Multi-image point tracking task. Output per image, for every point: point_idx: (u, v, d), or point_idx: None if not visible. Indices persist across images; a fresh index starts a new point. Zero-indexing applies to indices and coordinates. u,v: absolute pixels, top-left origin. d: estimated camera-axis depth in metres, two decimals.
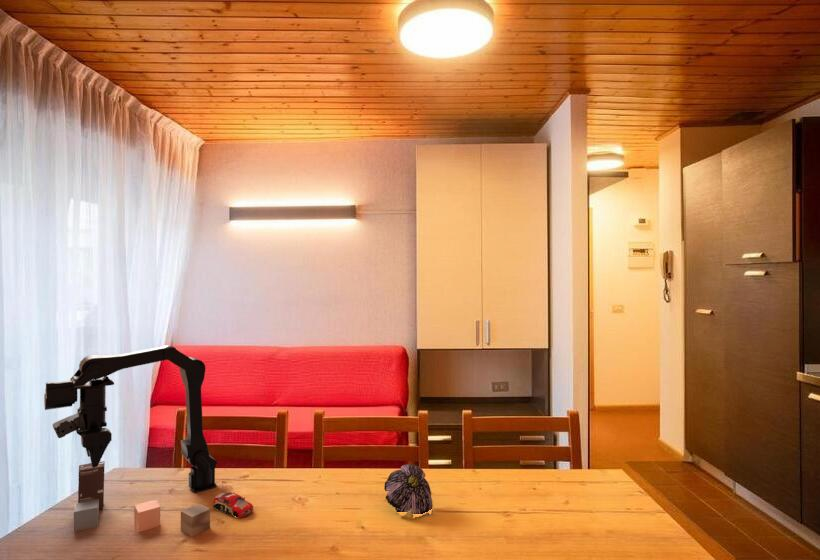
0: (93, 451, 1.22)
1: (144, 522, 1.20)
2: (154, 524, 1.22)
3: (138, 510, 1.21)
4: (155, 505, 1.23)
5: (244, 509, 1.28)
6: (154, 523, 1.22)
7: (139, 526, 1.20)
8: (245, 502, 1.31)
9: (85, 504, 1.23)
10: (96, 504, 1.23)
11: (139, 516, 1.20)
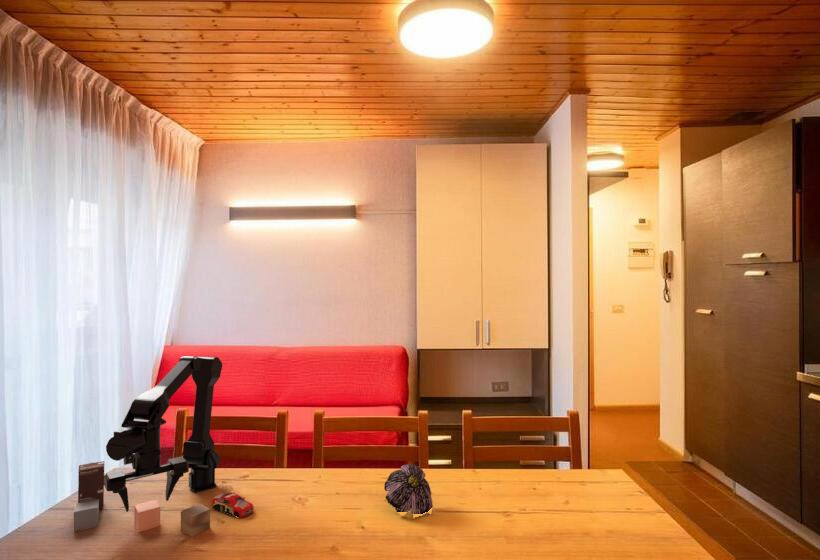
0: None
1: (144, 522, 1.20)
2: (154, 524, 1.22)
3: (138, 510, 1.21)
4: (155, 505, 1.23)
5: (245, 509, 1.28)
6: (154, 523, 1.22)
7: (139, 526, 1.20)
8: (245, 502, 1.31)
9: (85, 504, 1.23)
10: (96, 504, 1.23)
11: (139, 516, 1.20)
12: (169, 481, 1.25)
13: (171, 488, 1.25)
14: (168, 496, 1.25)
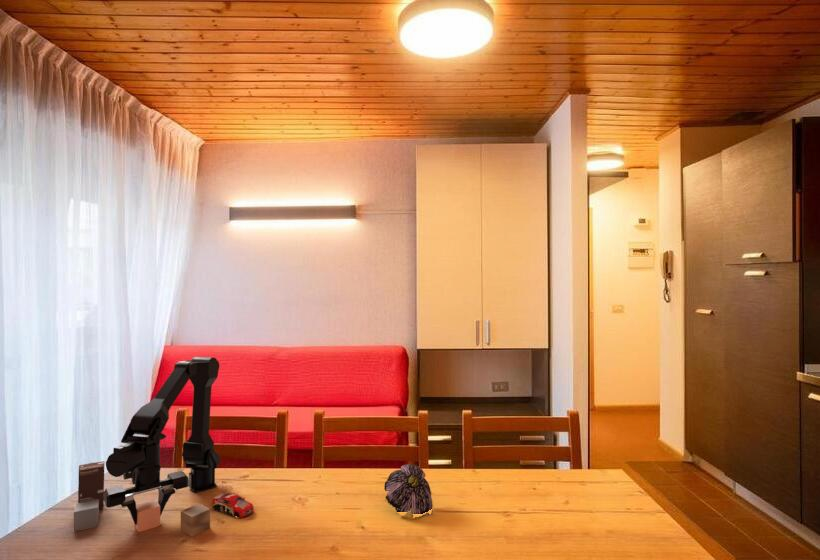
0: None
1: (144, 522, 1.20)
2: (154, 524, 1.22)
3: (138, 510, 1.21)
4: (155, 505, 1.23)
5: (245, 509, 1.28)
6: (154, 523, 1.22)
7: (139, 526, 1.20)
8: (245, 502, 1.31)
9: (85, 504, 1.23)
10: (96, 504, 1.23)
11: (139, 516, 1.20)
12: (161, 498, 1.24)
13: (163, 505, 1.24)
14: (160, 513, 1.24)
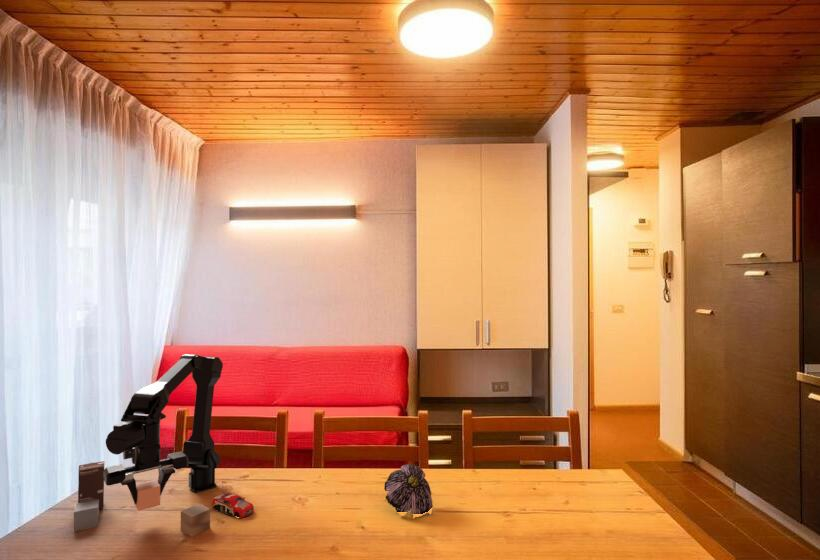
0: None
1: (144, 501, 1.20)
2: (154, 503, 1.22)
3: (138, 489, 1.20)
4: (155, 484, 1.23)
5: (245, 509, 1.27)
6: (154, 502, 1.22)
7: (139, 505, 1.19)
8: (245, 502, 1.30)
9: (85, 504, 1.23)
10: (96, 504, 1.23)
11: (139, 495, 1.19)
12: (161, 478, 1.24)
13: (163, 485, 1.24)
14: (160, 493, 1.24)
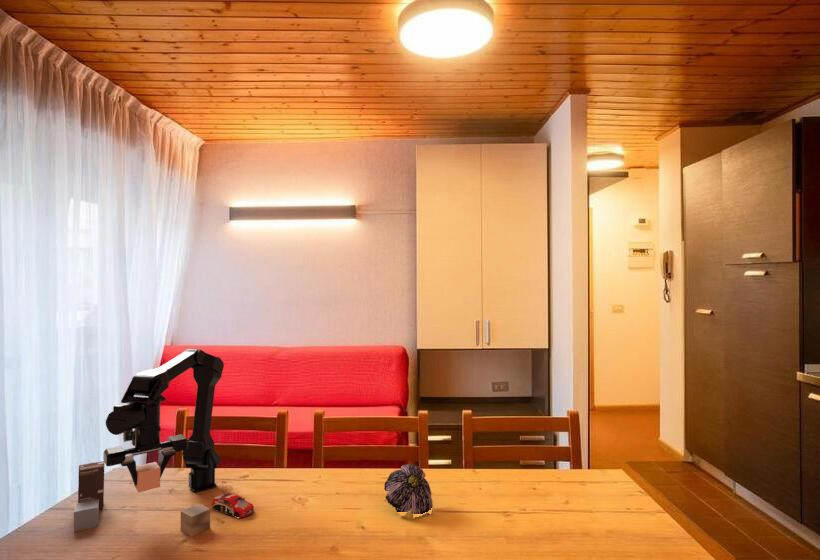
0: None
1: (144, 482, 1.20)
2: (154, 485, 1.22)
3: (138, 470, 1.20)
4: (155, 466, 1.23)
5: (245, 509, 1.27)
6: (154, 484, 1.22)
7: (139, 486, 1.19)
8: (246, 502, 1.30)
9: (85, 504, 1.23)
10: (96, 504, 1.23)
11: (139, 476, 1.19)
12: (161, 460, 1.24)
13: (163, 467, 1.24)
14: (160, 475, 1.24)
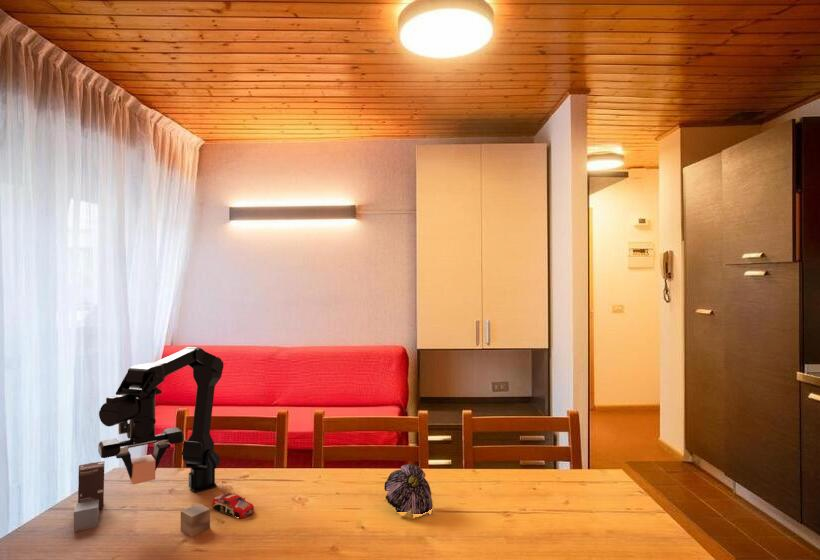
0: None
1: (139, 475, 1.20)
2: (149, 477, 1.22)
3: (133, 463, 1.20)
4: (150, 459, 1.23)
5: (245, 509, 1.27)
6: (149, 476, 1.22)
7: (134, 478, 1.20)
8: (246, 502, 1.30)
9: (85, 504, 1.23)
10: (96, 504, 1.23)
11: (134, 468, 1.20)
12: (156, 452, 1.24)
13: (158, 459, 1.24)
14: (155, 467, 1.24)
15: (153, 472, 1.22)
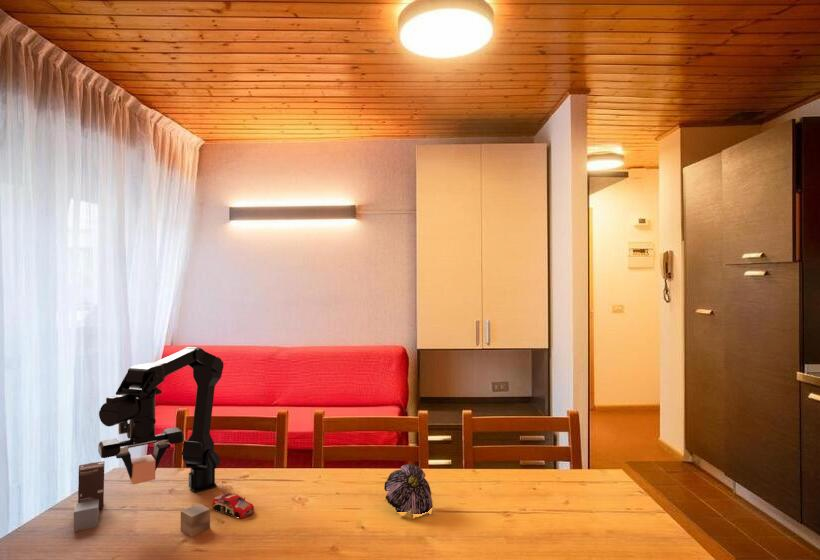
0: None
1: (139, 475, 1.20)
2: (149, 477, 1.22)
3: (133, 463, 1.20)
4: (150, 459, 1.23)
5: (245, 509, 1.27)
6: (149, 476, 1.22)
7: (134, 478, 1.20)
8: (246, 502, 1.30)
9: (85, 504, 1.23)
10: (96, 504, 1.23)
11: (134, 468, 1.20)
12: (156, 452, 1.24)
13: (158, 459, 1.24)
14: (155, 467, 1.24)
15: (153, 472, 1.22)
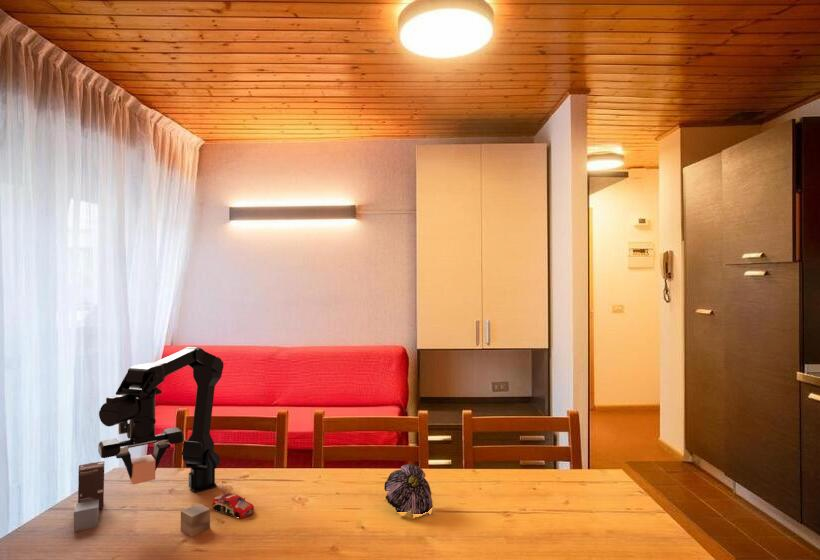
0: None
1: (139, 475, 1.20)
2: (149, 477, 1.22)
3: (133, 463, 1.20)
4: (150, 459, 1.23)
5: (245, 509, 1.27)
6: (149, 476, 1.22)
7: (134, 478, 1.20)
8: (246, 502, 1.30)
9: (85, 504, 1.23)
10: (96, 504, 1.23)
11: (134, 468, 1.20)
12: (156, 452, 1.24)
13: (158, 459, 1.24)
14: (155, 467, 1.24)
15: (153, 472, 1.22)
